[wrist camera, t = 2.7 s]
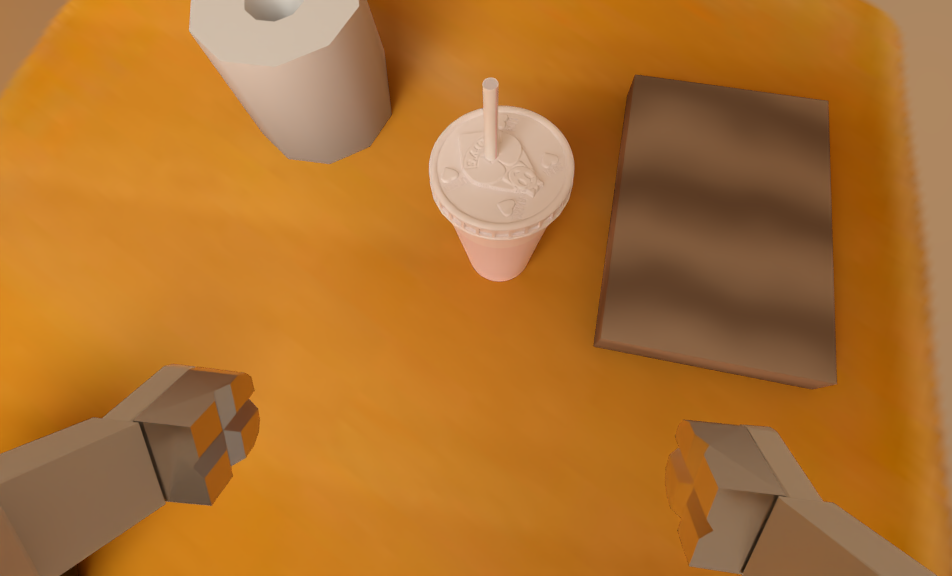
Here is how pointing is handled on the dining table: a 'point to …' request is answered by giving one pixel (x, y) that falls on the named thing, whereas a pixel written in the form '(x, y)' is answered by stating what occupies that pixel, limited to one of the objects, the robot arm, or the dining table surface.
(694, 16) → the dining table surface
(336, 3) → the toilet tissue
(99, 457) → the robot arm
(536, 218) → the smoothie
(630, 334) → the walnut board
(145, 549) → the dining table surface
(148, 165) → the dining table surface
